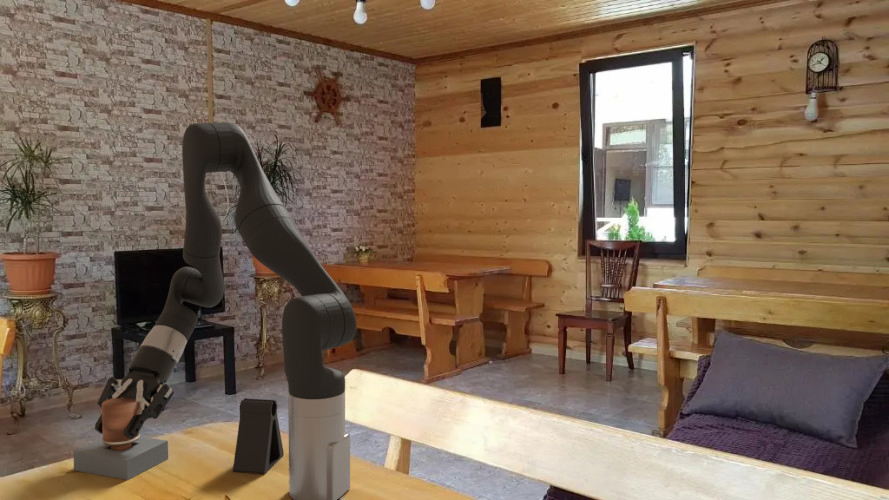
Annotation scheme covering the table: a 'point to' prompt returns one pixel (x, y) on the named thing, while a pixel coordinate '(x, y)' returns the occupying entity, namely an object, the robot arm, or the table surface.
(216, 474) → the table surface
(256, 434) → the phone stand
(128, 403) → the peg
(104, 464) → the board
